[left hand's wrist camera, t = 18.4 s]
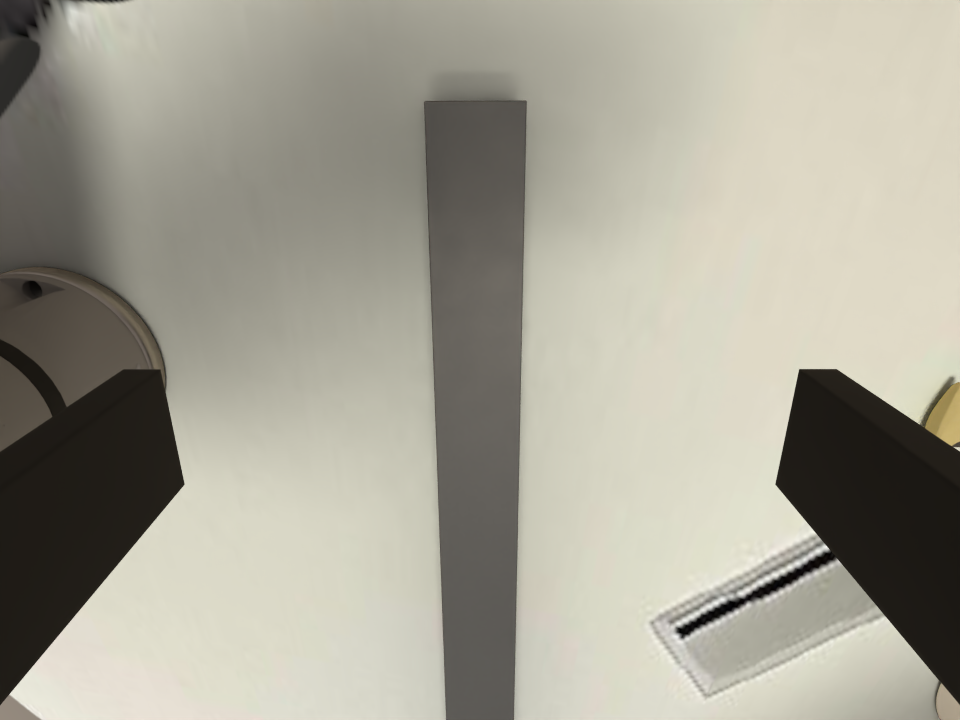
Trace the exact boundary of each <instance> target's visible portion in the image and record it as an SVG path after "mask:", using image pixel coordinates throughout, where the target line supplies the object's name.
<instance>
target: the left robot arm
mask: <svg viewBox="0 0 960 720" xmlns="http://www.w3.org/2000/svg"><path fill="white" fill-rule="evenodd" d="M183 486H184V480H183V475H182V470H181V465H180V460H179V455H178V451H177V446H176V441H175V436H174V431H173V426H172V422H171V417H170V412H169V407H168V402H167V397H166V393H165V372H164V366H163V361H162V358H161V354H160V351H159V349H158V347H157V344H156V342H155V340H154V338H153V336H152V334H151V333H150V331H149V329H148V328H147V326H146V325H145V324H144V322H143V321H142V320H141V318H140V317H139V316H138V315H137V314H136V312H135V311H134V310H133V309H132V308H131V307H130V306H129V305H128V304H127V303H126V302H125V301H123V300H122V299H121V298H120V297H118V296H117V295H116V294H115V293H113V292H112V291H110V290H109V289H107V288H106V287H104V286H102V285H101V284H99V283H97V282H95V281H93V280H91V279H89V278H87V277H84V276H81V275H79V274H76V273H73V272H69V271H66V270H61V269H56V268H47V267H29V268H21V269H16V270H12V271H9V272H5V273H2V274H0V705H1V704H2V702H3V701H4V700H5V699H6V697H7V696H8V695H9V694H10V693H11V692H12V690H13V689H14V688H15V687H16V686H17V684H18V683H19V682H20V681H21V680H22V678H23V677H24V676H25V675H26V674H27V672H28V671H29V670H30V669H31V668H32V666H33V665H34V664H35V663H36V662H37V660H38V659H39V658H40V657H41V656H42V654H43V653H44V652H45V651H46V650H47V648H48V647H49V646H50V645H51V644H52V642H53V641H54V640H55V639H56V638H57V636H58V635H59V634H60V633H61V632H62V631H63V629H64V628H65V627H66V626H67V625H68V623H69V622H70V621H71V620H72V619H73V617H74V616H75V615H76V614H77V613H78V611H79V610H80V609H81V608H82V607H83V605H84V604H85V603H86V602H87V601H88V599H89V598H90V597H91V596H92V595H93V593H94V592H95V591H96V590H97V589H98V587H99V586H100V585H101V584H102V583H103V581H104V580H105V579H106V578H107V577H108V575H109V574H110V573H111V572H112V571H113V569H114V568H115V567H116V566H117V565H118V563H119V562H120V561H121V560H122V559H123V557H124V556H125V555H126V554H127V553H128V552H129V550H130V549H131V548H132V547H133V546H134V544H135V543H136V542H137V541H138V540H139V538H140V537H141V536H142V535H143V534H144V532H145V531H146V530H147V529H148V528H149V526H150V525H151V524H152V523H153V522H154V520H155V519H156V518H157V517H158V516H159V514H160V513H161V512H162V511H163V510H164V508H165V507H166V506H167V505H168V504H169V502H170V501H171V500H172V499H173V498H174V496H175V495H176V494H177V493H178V492H179V490H180V489H181V488H182V487H183ZM776 486H777V487H778V488H779V489H780V490H781V492H782V493H783V494H784V495H785V496H786V498H787V499H788V500H789V501H790V502H791V504H792V505H793V506H794V507H795V508H796V510H797V511H798V512H799V513H800V514H801V516H802V517H803V518H804V519H805V520H806V522H807V523H808V524H809V525H810V526H811V528H812V529H813V530H814V531H815V532H816V534H817V535H818V536H819V537H820V538H821V540H822V541H823V542H824V543H825V544H826V546H827V547H828V548H829V549H830V550H831V552H832V553H833V554H834V555H835V556H836V557H837V559H838V560H839V561H840V562H841V563H842V565H843V566H844V567H845V568H846V569H847V571H848V572H849V573H850V574H851V575H852V577H853V578H854V579H855V580H856V581H857V583H858V584H859V585H860V586H861V587H862V589H863V590H864V591H865V592H866V593H867V595H868V596H869V597H870V598H871V599H872V601H873V602H874V603H875V604H876V605H877V607H878V608H879V609H880V610H881V611H882V613H883V614H884V615H885V616H886V617H887V619H888V620H889V621H890V622H891V623H892V625H893V626H894V627H895V628H896V629H897V631H898V632H899V633H900V634H901V635H902V636H903V638H904V639H905V640H906V641H907V642H908V644H909V645H910V646H911V647H912V648H913V650H914V651H915V652H916V653H917V654H918V656H919V657H920V658H921V659H922V660H923V662H924V663H925V664H926V665H927V666H928V668H929V669H930V670H931V671H932V672H933V674H934V675H935V676H936V677H937V678H938V680H939V681H940V682H941V683H942V684H943V686H944V687H945V688H946V689H947V690H948V692H949V693H950V694H951V695H952V696H953V698H954V699H955V700H956V701H957V702H958V704H959V705H960V451H958V450H957V449H955V448H954V447H952V446H951V445H949V444H948V443H946V442H945V441H943V440H942V439H940V438H939V437H937V436H936V435H934V434H933V433H931V432H930V431H928V430H927V429H925V428H924V427H922V426H921V425H919V424H918V423H916V422H915V421H913V420H912V419H910V418H909V417H907V416H906V415H904V414H903V413H901V412H900V411H898V410H897V409H895V408H894V407H892V406H891V405H889V404H888V403H886V402H885V401H883V400H882V399H880V398H879V397H877V396H876V395H874V394H873V393H871V392H870V391H868V390H867V389H865V388H864V387H862V386H861V385H859V384H858V383H856V382H855V381H853V380H852V379H850V378H849V377H847V376H846V375H844V374H843V373H841V372H840V371H838V370H837V369H799V373H798V378H797V383H796V388H795V393H794V397H793V402H792V407H791V412H790V417H789V422H788V426H787V431H786V436H785V441H784V446H783V451H782V455H781V460H780V465H779V470H778V475H777V480H776Z"/></svg>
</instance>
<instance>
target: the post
mask: <svg viewBox="0 0 960 720" xmlns="http://www.w3.org/2000/svg"><path fill="white" fill-rule="evenodd" d="M526 103H527V102H526V101H425V102H424V109H425V137H426V165H427V193H428V221H429V249H430V277H431V305H432V333H433V361H434V389H435V417H436V445H437V473H438V501H439V529H440V557H441V585H442V613H443V641H444V669H445V697H446V720H514V684H515V636H516V587H517V539H518V491H519V442H520V394H521V345H522V297H523V248H524V200H525V152H526Z"/></svg>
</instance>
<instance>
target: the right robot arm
mask: <svg viewBox="0 0 960 720" xmlns="http://www.w3.org/2000/svg"><path fill="white" fill-rule="evenodd" d="M936 708H937V713H938V716H939V718H940V720H960V705H959V704H958V702H957V701H956V700H955V699H954V698H953V696H952V695H951V694H950V693H949V692H948V690H947V689H946V688H945V687H944V686H943V684H942V683H941V684H940V687H939V690H938V693H937V698H936Z"/></svg>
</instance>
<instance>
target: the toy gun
mask: <svg viewBox="0 0 960 720" xmlns="http://www.w3.org/2000/svg"><path fill="white" fill-rule="evenodd" d="M925 429H927V430H928V431H930V432H931V433H933V434H934V435H936V436H937V437H939V438H940V439H942V440H943V441H945V442H946V443H948V444H949V445H951V446H952V447H960V382H958V383H955V384H953V385H952V386H951V387H950V388H949V389H948V390H947V391H946V393H945V394H944V395H943V396H942V398H941V399H940V400H939V402H938V403H937V404H936V406H935V407H934V409H933V410H932V412H931V414H930V416H929V418H928V420H927V423H926V426H925Z"/></svg>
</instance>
